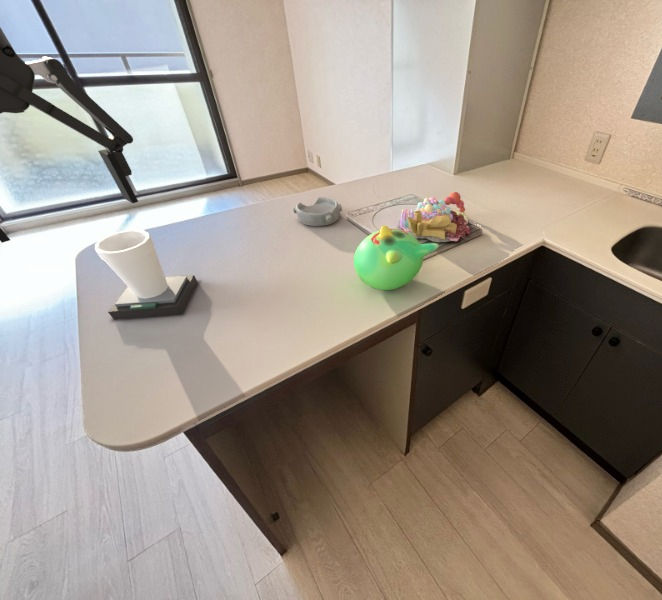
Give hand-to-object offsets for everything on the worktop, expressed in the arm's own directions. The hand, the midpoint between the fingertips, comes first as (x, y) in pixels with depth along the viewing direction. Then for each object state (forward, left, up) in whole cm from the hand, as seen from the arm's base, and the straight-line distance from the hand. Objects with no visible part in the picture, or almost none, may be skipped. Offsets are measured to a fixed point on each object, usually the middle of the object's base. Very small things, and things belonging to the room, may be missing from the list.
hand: (73, 217), depth 42 cm
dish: (+26, +60, -32) cm, 73 cm away
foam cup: (-11, +22, -29) cm, 38 cm away
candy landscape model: (+64, +51, -32) cm, 88 cm away
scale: (-11, +22, -32) cm, 40 cm away
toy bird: (+45, +22, -32) cm, 59 cm away
